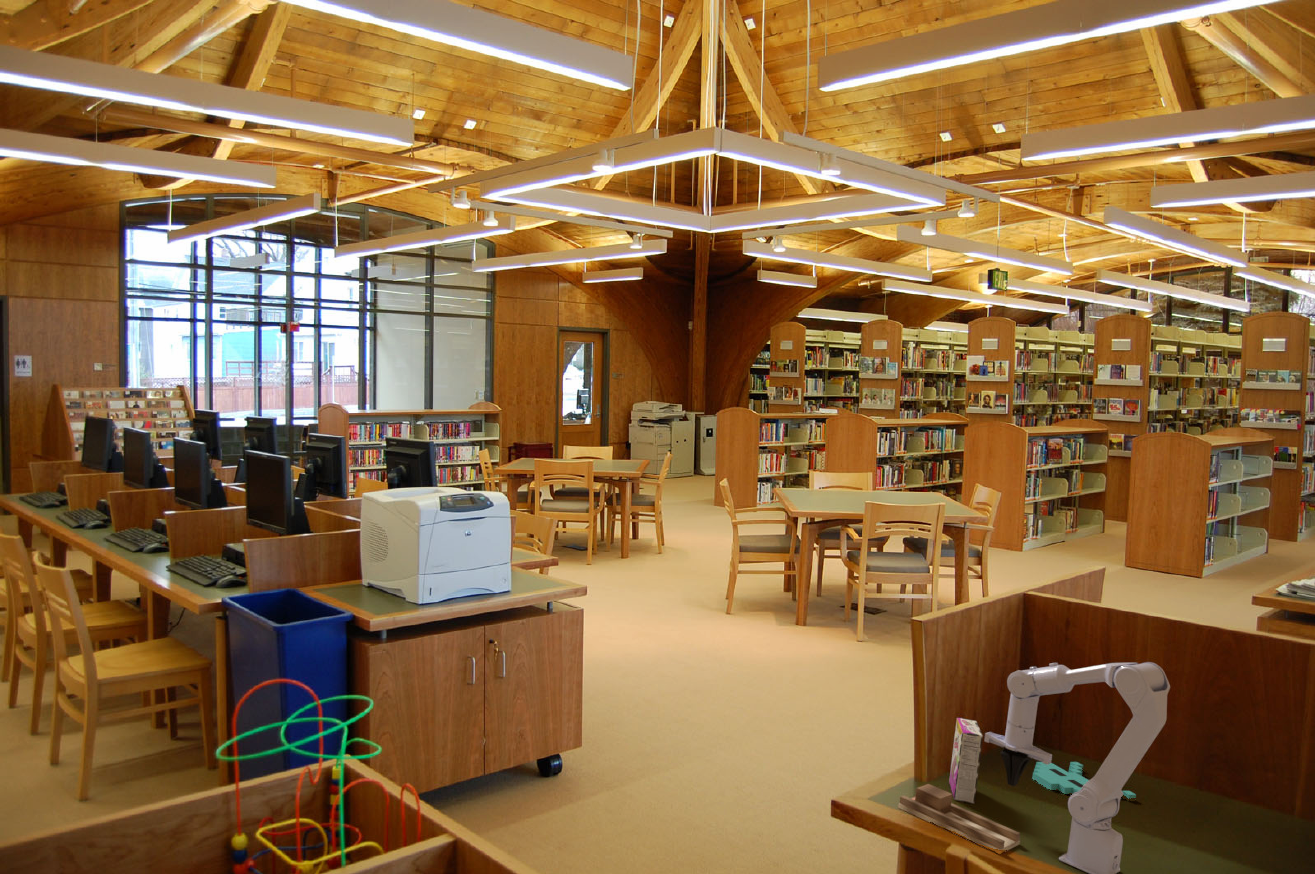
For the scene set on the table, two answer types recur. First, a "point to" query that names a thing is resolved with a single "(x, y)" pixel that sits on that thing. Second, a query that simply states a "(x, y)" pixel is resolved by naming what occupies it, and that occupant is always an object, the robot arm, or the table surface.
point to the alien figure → (1064, 778)
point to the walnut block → (934, 798)
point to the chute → (965, 824)
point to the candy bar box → (965, 760)
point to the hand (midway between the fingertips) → (1012, 784)
